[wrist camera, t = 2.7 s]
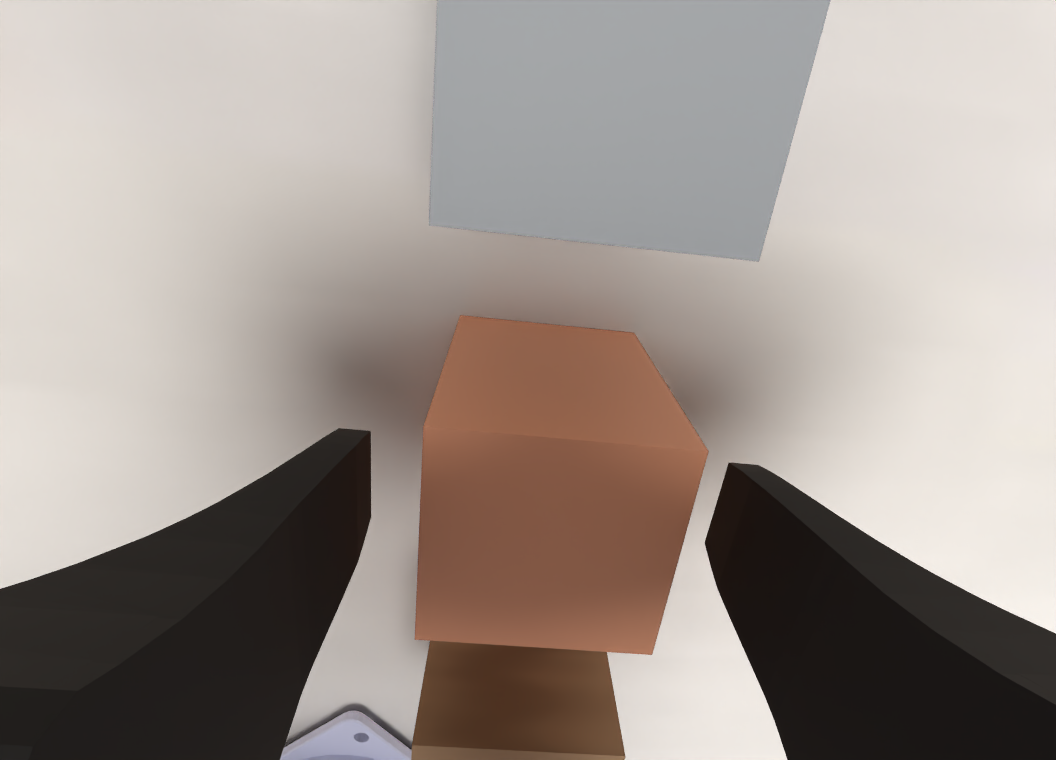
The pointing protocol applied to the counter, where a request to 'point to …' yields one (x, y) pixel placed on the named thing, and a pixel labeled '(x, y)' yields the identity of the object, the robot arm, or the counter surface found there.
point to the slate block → (619, 118)
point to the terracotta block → (551, 490)
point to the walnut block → (516, 704)
